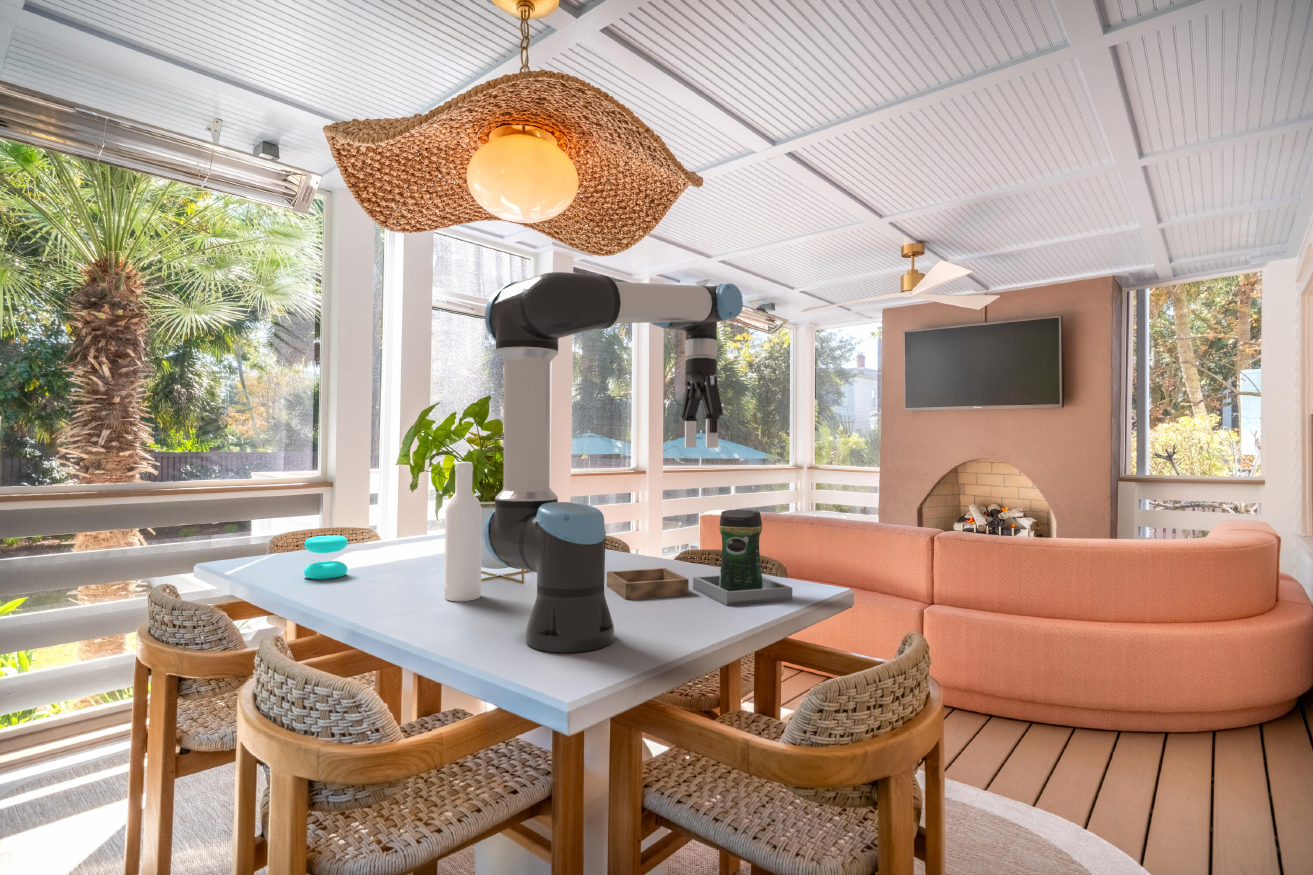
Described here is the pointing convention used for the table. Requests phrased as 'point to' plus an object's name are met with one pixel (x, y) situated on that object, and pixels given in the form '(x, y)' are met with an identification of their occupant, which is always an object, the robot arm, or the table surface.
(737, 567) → the coffee jar
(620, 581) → the walnut frame
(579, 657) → the table surface
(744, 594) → the slate tray
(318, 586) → the table surface
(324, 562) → the pair of cyan pebbles
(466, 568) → the bottle
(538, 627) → the robot arm
